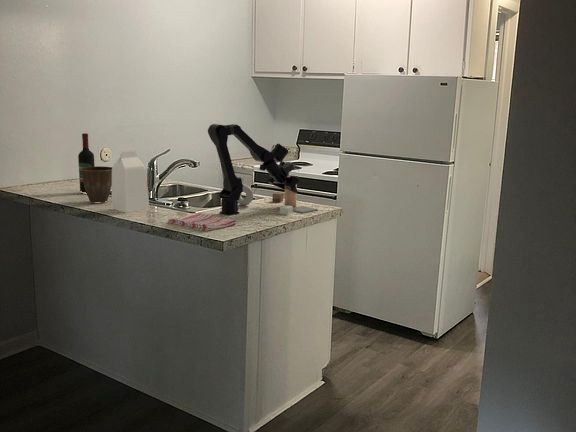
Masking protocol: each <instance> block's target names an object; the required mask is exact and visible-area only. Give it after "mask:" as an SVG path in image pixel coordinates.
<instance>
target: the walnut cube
mask: <svg viewBox="0 0 576 432" xmlns="http://www.w3.org/2000/svg"><path fill="white" fill-rule="evenodd" d="M271 199H272V200H271V201H272V202H273V203H282V202H284V192H273V193H272V198H271Z"/></svg>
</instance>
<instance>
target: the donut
mask: <svg viewBox="0 0 576 432" xmlns="http://www.w3.org/2000/svg"><path fill="white" fill-rule="evenodd" d="M242 184H243V186H244V187H243V192H244V193H245V198H243V197H242V194H241V195H240V199H239V200H237V202H238V205H240V206H244V207H246V206H249V205H250V204H251V203H252V202H253V200H254V192H253V190H252V189H251V187H250V186H249V185H248V184H244V183H242ZM243 192H242V193H243Z"/></svg>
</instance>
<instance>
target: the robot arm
mask: <svg viewBox="0 0 576 432" xmlns="http://www.w3.org/2000/svg"><path fill="white" fill-rule="evenodd" d="M207 133H208V136H209V138H210V140H211V142H212V143H213V144H214V146H215V148H216V152H217V155H218V159H219V163H220V166H221V170H222V173H223V174H222V175H223V183H222V184H223V185H222V186H223V188H222V190H221V191H220V192H219V193H218V196H219V199H221V211H219V214H223V215H227V216H230V215H237V214H240V211H239V204H238V202H237V200H239V199H240V195H241V196H242V193H243V187H244V186H243V184H244V183H243V180H242V177H238V176H236V173H235V170H234V166H233V162H232V159H231V154H230V151H229V147H228V138H229V136H234V137H235V138H236V139H237V140H238V141H239V142H240V143H241V144H242V145H243V146H244V147H245V148H246V149H247V150H248V151H249V154H250V155H251V157H252V158H253V160H255V161H256V162H260V163H262V164H259V171H264V172H265V171H266V172H267V173H268V177H267V179H266V181H267V183H268V184H269V185H273V186H274V187H277V188H279V189H281V190H284V191H285V186H286V189H288V190H290V191H292V192H294V193H298V189H297V188H298V187H297V188H296V184H298V183H299V182H300V177H299V176H297V175H293V174H292V175H290V172H292V171H294V170H295V169H296V168H295V165H294V163H293V162H291V161H284V160H285V158H286V157H287V155H288V154H290V153H289V150H288V149H287V147H285V146H284V145H281V144H280V143H276V145H274V148H273V149H271V151H270V150H268V149H266V147H264V146H262V145H259V144H258V143H257V142H256V141H255V140H254V139H253V138H252V137H251V136H250V135H249V134H248V133H247V132H246V131H244V129H243V128H242V127H241V126H240V125H239V124H235V123H232V124H226V125H224V124H218V123H212V124H210V125H209V126H208V128H207ZM278 163H279V164H278ZM287 176H290V177H287Z"/></svg>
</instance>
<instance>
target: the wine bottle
mask: <svg viewBox="0 0 576 432" xmlns="http://www.w3.org/2000/svg"><path fill="white" fill-rule="evenodd" d="M81 138H82V150H81V151H80V152H79V153H78V156H77V159H78V176H79V177H78V178H79V179H78V180H79V192H80V191H82V192H86V190H85V187H84V183H83V179H82V175H81V168H84V167H96V166H95V165H96V164H95V154H94V152H92V151H91V150H90V148H89V133H85V132H84V133H81Z"/></svg>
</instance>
